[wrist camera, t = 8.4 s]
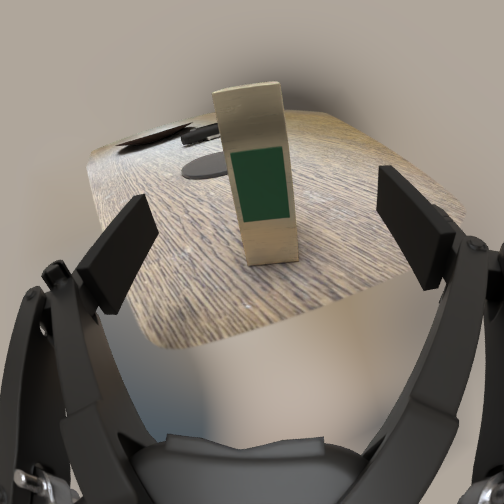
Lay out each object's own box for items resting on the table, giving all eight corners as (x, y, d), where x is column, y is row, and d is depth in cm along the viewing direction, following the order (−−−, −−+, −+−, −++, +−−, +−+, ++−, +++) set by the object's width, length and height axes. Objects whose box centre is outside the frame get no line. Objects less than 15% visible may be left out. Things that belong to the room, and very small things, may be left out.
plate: (196, 122, 94) (194, 114, 92) (194, 135, 72) (192, 123, 70) (128, 142, 93) (126, 134, 91) (106, 162, 70) (103, 151, 68)
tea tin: (250, 225, 26) (225, 88, 19) (292, 221, 26) (275, 80, 18) (247, 267, 21) (210, 93, 14) (299, 262, 21) (280, 82, 13)
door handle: (169, 133, 70) (183, 135, 57) (233, 116, 76) (258, 115, 63) (172, 144, 71) (186, 148, 59) (235, 126, 77) (261, 127, 65)
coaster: (168, 177, 43) (167, 174, 43) (212, 153, 51) (212, 150, 50) (223, 181, 37) (222, 177, 37) (266, 154, 45) (265, 150, 44)
